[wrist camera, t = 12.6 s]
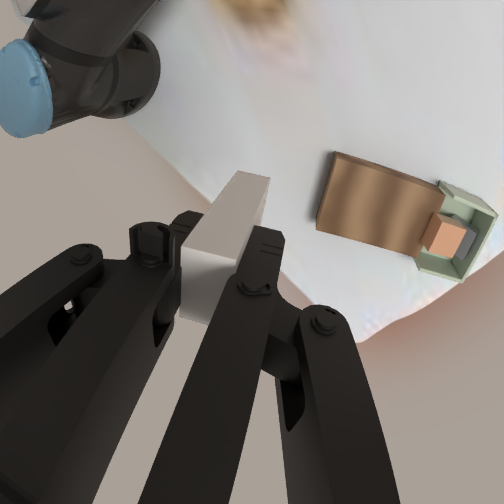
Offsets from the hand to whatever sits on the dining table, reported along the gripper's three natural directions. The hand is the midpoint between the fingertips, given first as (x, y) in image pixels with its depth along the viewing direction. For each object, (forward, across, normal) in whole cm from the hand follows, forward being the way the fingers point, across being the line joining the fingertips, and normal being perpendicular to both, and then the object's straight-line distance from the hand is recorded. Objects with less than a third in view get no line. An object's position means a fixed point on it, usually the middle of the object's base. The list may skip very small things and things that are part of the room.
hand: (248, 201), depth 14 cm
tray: (+30, +29, -8) cm, 43 cm away
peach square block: (+27, +26, -8) cm, 38 cm away
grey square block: (+26, +29, -9) cm, 40 cm away
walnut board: (+30, +16, -8) cm, 35 cm away
